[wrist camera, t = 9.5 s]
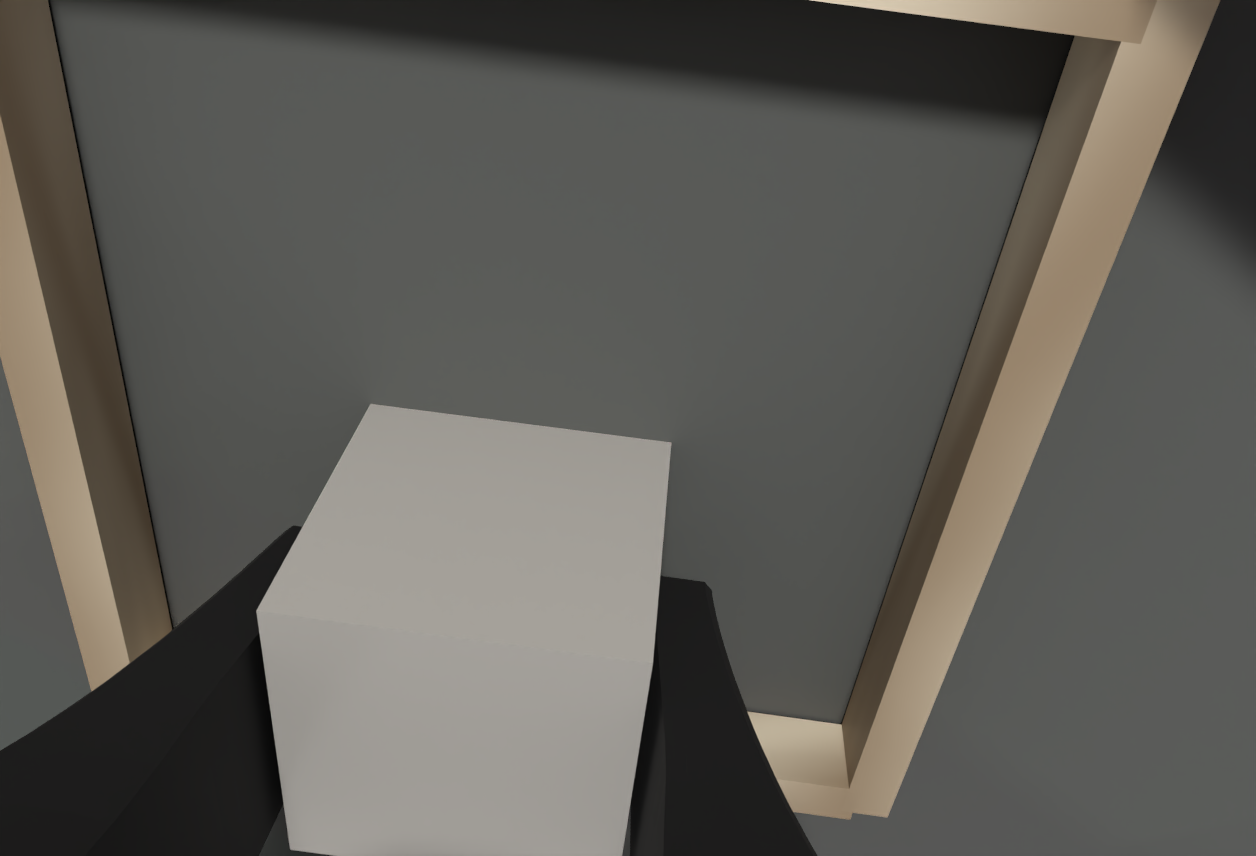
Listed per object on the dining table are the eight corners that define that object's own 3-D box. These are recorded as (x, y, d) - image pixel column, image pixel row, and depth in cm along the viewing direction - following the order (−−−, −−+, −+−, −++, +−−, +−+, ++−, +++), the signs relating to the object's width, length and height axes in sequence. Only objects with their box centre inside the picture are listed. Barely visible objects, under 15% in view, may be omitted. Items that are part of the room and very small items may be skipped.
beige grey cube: (671, 439, 13) (653, 663, 10) (639, 652, 16) (615, 894, 12) (372, 400, 14) (256, 610, 10) (382, 618, 16) (290, 849, 12)
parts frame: (1181, -55, 10) (1232, -32, 9) (875, 759, 16) (884, 824, 15) (-66, -218, 10) (-155, -216, 9) (135, 657, 17) (98, 715, 16)
